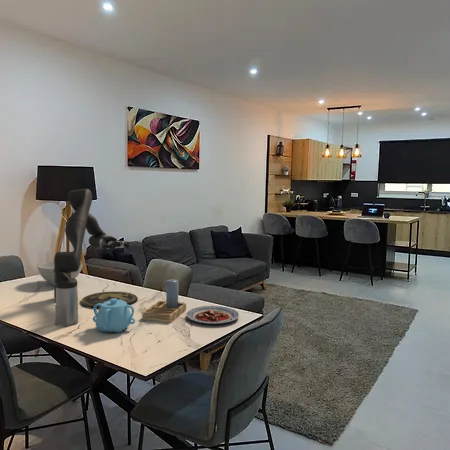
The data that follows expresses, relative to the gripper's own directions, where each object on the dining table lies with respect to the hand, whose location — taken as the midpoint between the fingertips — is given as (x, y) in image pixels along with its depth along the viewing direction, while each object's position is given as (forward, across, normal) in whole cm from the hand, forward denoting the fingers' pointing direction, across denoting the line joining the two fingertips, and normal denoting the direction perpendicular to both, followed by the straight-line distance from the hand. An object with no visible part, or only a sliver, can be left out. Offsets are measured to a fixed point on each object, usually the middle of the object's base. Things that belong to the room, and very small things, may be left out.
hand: (120, 246), depth 211 cm
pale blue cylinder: (+22, +18, +31) cm, 42 cm away
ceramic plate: (+40, +30, +32) cm, 60 cm away
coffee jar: (-32, -21, +32) cm, 50 cm away
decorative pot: (+28, -15, +32) cm, 45 cm away
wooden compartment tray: (+23, +13, +32) cm, 42 cm away
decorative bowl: (-68, -12, +32) cm, 76 cm away
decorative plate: (-14, -1, +33) cm, 35 cm away
